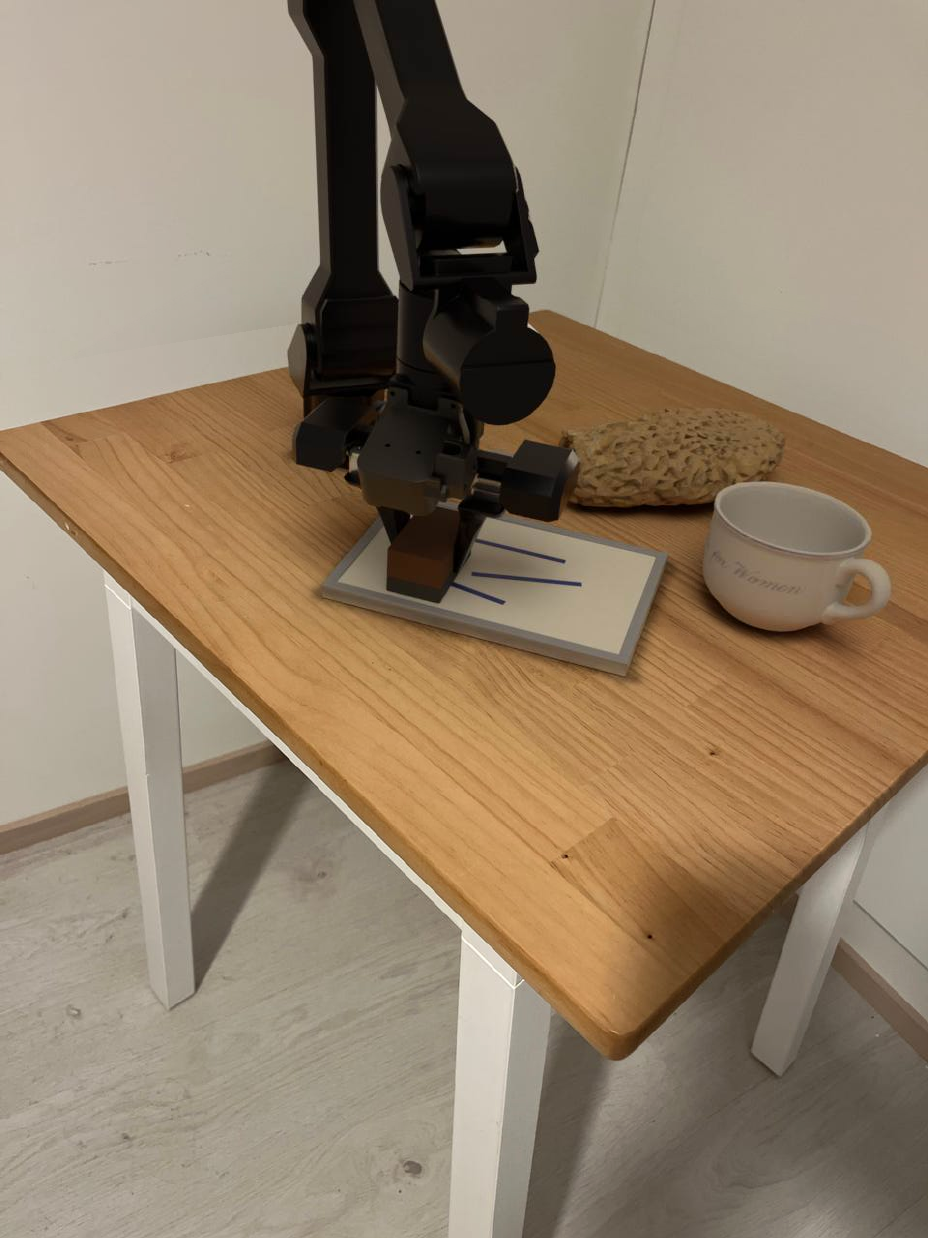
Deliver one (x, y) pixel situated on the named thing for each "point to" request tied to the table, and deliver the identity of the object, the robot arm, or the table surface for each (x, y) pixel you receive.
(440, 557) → the eraser
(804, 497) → the teacup
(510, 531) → the whiteboard
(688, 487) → the sponge
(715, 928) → the table surface
